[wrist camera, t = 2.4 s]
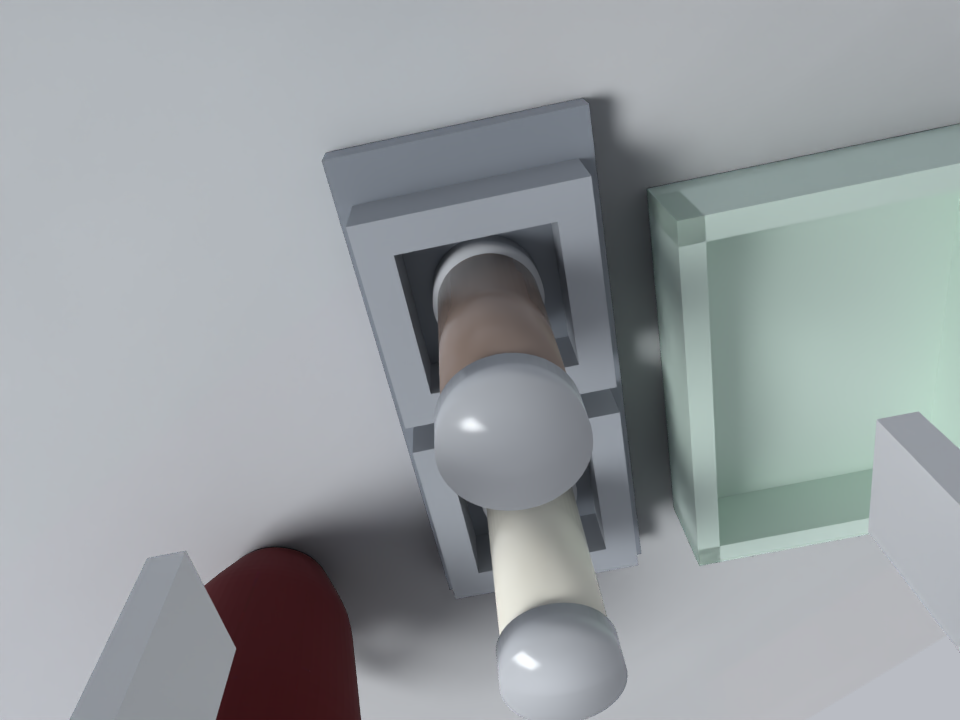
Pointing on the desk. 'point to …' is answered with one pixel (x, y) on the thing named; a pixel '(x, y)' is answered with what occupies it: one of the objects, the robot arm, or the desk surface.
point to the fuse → (551, 615)
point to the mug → (285, 640)
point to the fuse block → (563, 271)
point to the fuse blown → (503, 382)
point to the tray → (803, 334)
